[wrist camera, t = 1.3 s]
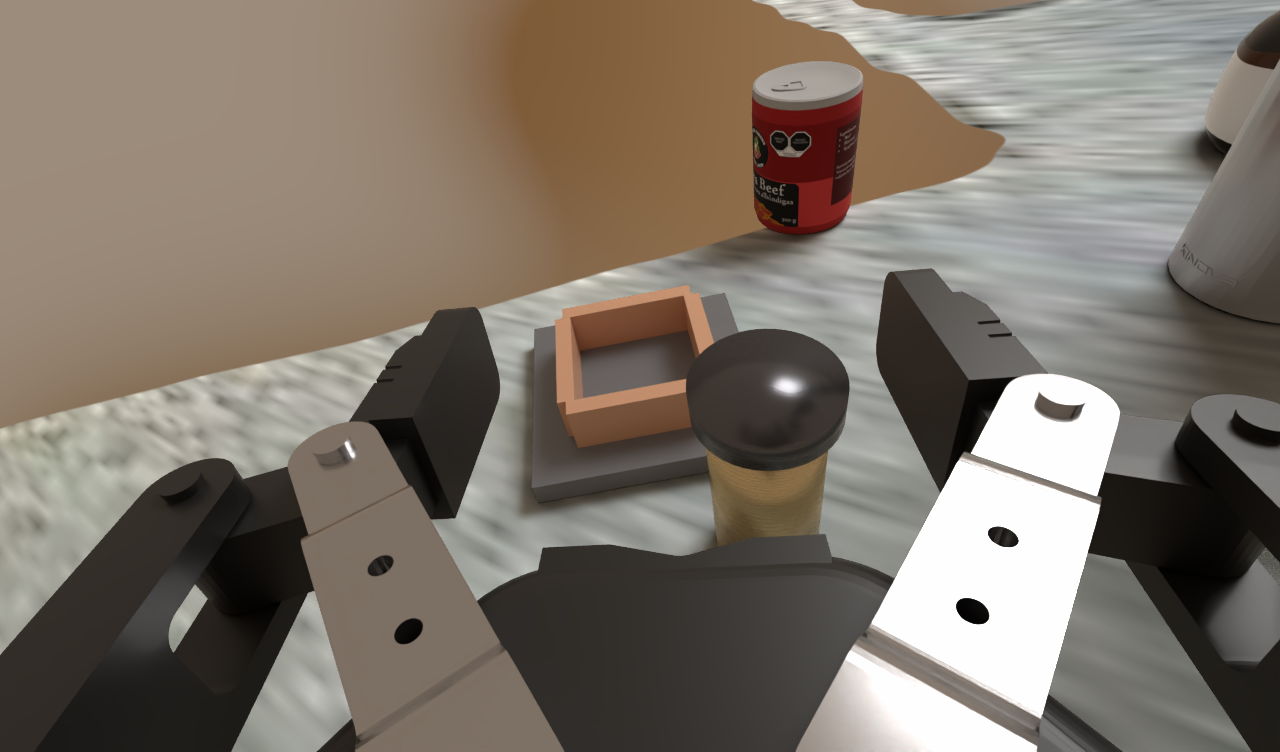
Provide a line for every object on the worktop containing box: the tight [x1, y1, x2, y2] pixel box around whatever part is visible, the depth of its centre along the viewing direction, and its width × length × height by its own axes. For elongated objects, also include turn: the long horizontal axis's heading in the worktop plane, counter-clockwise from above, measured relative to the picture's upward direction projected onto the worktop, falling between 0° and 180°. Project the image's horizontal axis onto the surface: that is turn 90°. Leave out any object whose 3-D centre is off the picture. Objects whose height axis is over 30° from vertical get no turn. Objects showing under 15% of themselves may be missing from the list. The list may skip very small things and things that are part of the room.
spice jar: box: [686, 329, 849, 547], centre depth 27 cm, size 6×6×12 cm
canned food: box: [752, 61, 863, 234], centre depth 48 cm, size 8×8×11 cm
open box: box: [532, 285, 739, 503], centre depth 38 cm, size 14×14×4 cm
